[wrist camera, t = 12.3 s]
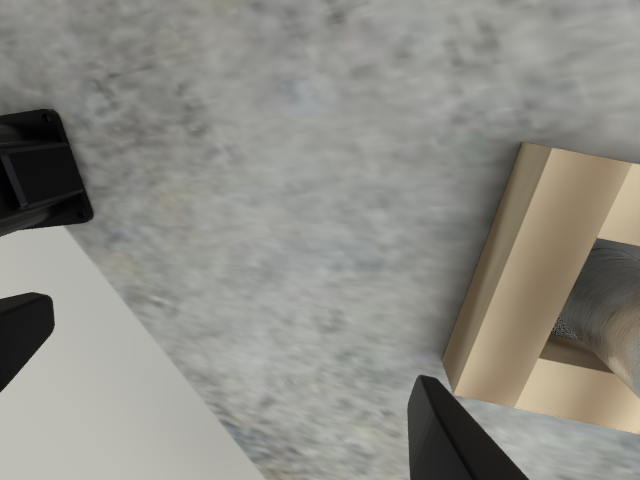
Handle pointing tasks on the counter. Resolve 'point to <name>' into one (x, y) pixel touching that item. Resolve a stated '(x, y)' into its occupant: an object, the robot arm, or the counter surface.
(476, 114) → the counter surface
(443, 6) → the counter surface
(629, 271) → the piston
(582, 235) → the tan square ring
